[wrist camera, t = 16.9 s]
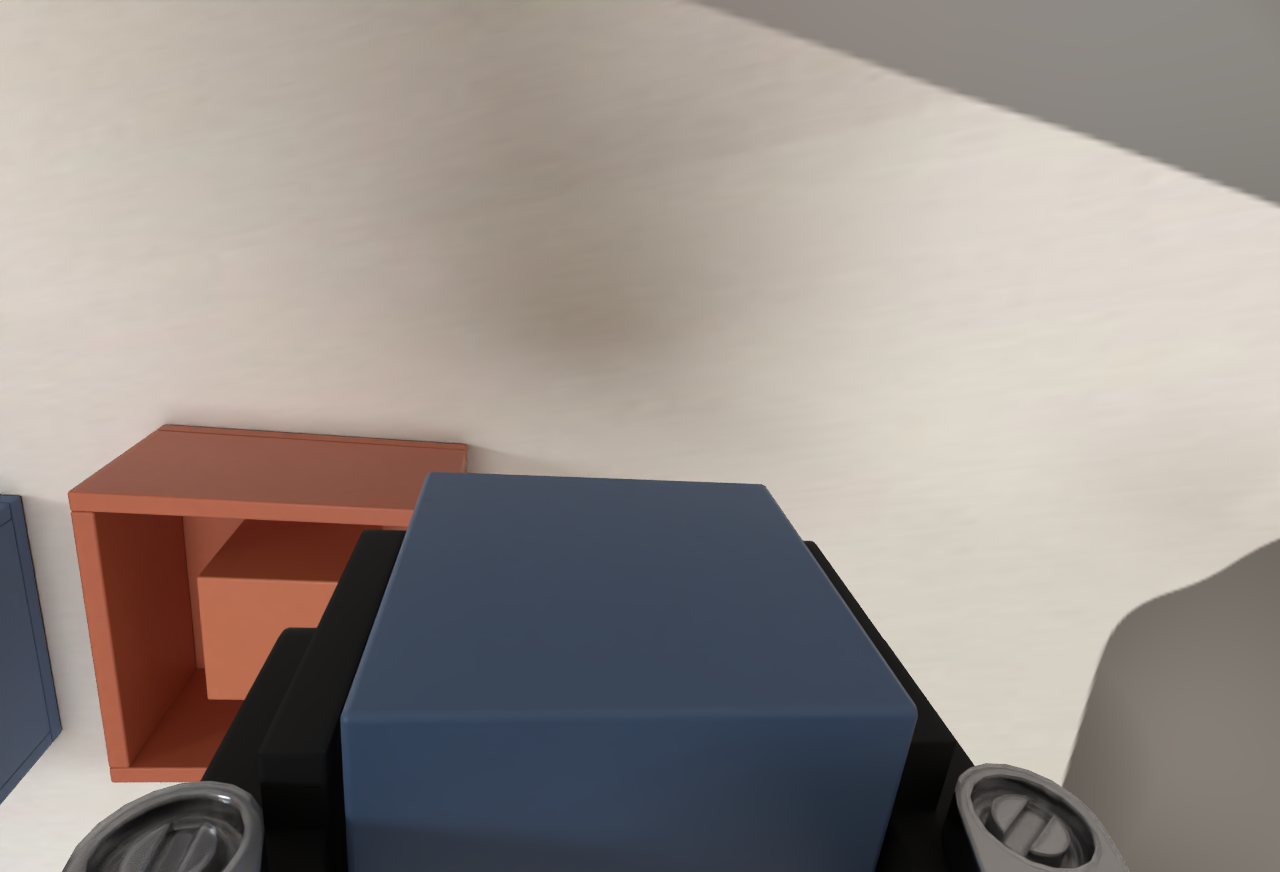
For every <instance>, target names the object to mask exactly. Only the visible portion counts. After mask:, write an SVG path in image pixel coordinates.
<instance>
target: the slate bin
mask: <svg viewBox="0 0 1280 872" xmlns="http://www.w3.org/2000/svg"><path fill="white" fill-rule="evenodd" d="M60 733H61V726H60V721H59V715H58V709H57V703H56V698H55V692H54V686H53V681H52V675H51V669H50V663H49V658H48V652H47V646H46V641H45V635H44V629H43V624H42V618H41V612H40V606H39V601H38V595H37V589H36V584H35V578H34V572H33V566H32V561H31V555H30V549H29V544H28V538H27V532H26V526H25V521H24V515H23V509H22V504H21V498H20V496H6V495H0V805H1V803H2V802H3V801H4V800H5V799H6V797H7V796H8V795H9V794H10V793H11V791H12V790H13V789H14V788H15V787H16V785H17V784H18V783H19V782H20V781H21V780H22V778H23V777H24V776H25V775H26V774H27V772H28V771H29V770H30V769H31V768H32V766H33V765H34V764H35V763H36V762H37V760H38V759H39V758H40V757H41V756H42V754H43V753H44V752H45V751H46V750H47V749H48V747H49V746H50V745H51V743H52V742H53V741H54V740H55V739H56V738H57V737H58V735H59V734H60Z"/></svg>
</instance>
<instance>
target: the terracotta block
mask: <svg viewBox="0 0 1280 872" xmlns="http://www.w3.org/2000/svg"><path fill="white" fill-rule="evenodd" d="M365 529H368V530H382V526H379V525H358V524H337V523H317V522H296V521H275V520H254V519H245V520H244V521H243V522H242V523H241V524H240V526H239V527H238V528H237V529H236V530H235V532H234V533H233V534H232V535H231V537H230V538H229V539H228V540H227V541H226V543H225V544H224V545H223V546H222V547H221V549H220V550H219V551H218V552H217V553H216V555H215V556H214V557H213V558H212V560H211V561H210V562H209V563H208V564H207V566H206V567H205V568H204V569H203V570H202V572H201V573H200V574H199V575H198V577H197V586H198V597H199V608H200V619H201V630H202V641H203V652H204V663H205V674H206V685H207V696H208V699H210V700H245V698H246V696H247V694H248V692H249V690H250V689H251V687H252V685H253V683H254V681H255V679H256V677H257V676H258V674H259V672H260V670H261V668H262V666H263V665H264V663H265V661H266V659H267V657H268V655H269V654H270V652H271V650H272V648H273V646H274V644H275V643H276V641H277V639H278V637H279V636H280V634H281V633H282V632H283V630H284V629H287V628H289V627H304V628H317V626H318V624H319V622H320V620H321V618H322V615H323V613H324V611H325V609H326V607H327V605H328V603H329V601H330V599H331V596H332V594H333V592H334V590H335V588H336V586H337V584H338V582H339V580H340V577H341V575H342V573H343V571H344V569H345V567H346V565H347V563H348V561H349V558H350V556H351V554H352V552H353V550H354V548H355V546H356V544H357V542H358V539H359V537H360V535H361V533H362V532H363V530H365Z"/></svg>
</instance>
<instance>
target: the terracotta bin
mask: <svg viewBox="0 0 1280 872" xmlns="http://www.w3.org/2000/svg"><path fill="white" fill-rule="evenodd" d="M466 462H467V445H465V444H450V443H434V442H419V441H404V440H389V439H374V438H359V437H343V436H328V435H313V434H298V433H283V432H268V431H252V430H237V429H222V428H207V427H192V426H176V425H163V426H162V427H160V428H159V429H157V431H154V432H153V433H151V434H150V435H149V436H147V437H146V438H144V439H143V440H141V441H140V442H139V443H137V444H136V445H134V446H133V447H131V448H130V449H129V450H127V451H126V452H124V453H123V454H121V455H120V456H119V457H117V458H116V459H114V460H113V461H111V462H110V463H109V464H107V465H106V466H104V467H103V468H102V469H100V470H99V471H97V472H96V473H94V474H93V475H92V476H90V477H89V478H87V479H86V480H84V481H83V482H82V483H80V484H79V485H77V486H76V487H74V488H73V489H72V490H70V491H69V492H68V498H69V504H70V509H71V510H72V512H71V517H72V523H73V530H74V537H75V543H76V550H77V556H78V563H79V570H80V576H81V583H82V589H83V596H84V603H85V609H86V616H87V622H88V629H89V636H90V642H91V649H92V656H93V662H94V669H95V675H96V682H97V689H98V695H99V702H100V708H101V715H102V722H103V728H104V735H105V741H106V748H107V755H108V761H109V767H111V768H110V774H111V781H112V782H200V781H201V779H202V777H203V775H204V773H205V771H206V769H207V768H208V766H209V764H210V762H211V760H212V758H213V757H214V755H215V753H216V751H217V749H218V747H219V746H220V744H221V742H222V740H223V738H224V736H225V735H226V733H227V731H228V729H229V727H230V725H231V723H232V722H233V720H234V718H235V716H236V714H237V712H238V711H239V709H240V707H241V705H242V703H243V701H244V700H210V699H208V696H207V685H206V674H205V663H204V652H203V641H202V630H201V619H200V608H199V597H198V586H197V577H198V575H199V574H200V573H201V572H202V570H203V569H204V568H205V567H206V566H207V564H208V563H209V562H210V561H211V560H212V558H213V557H214V556H215V555H216V553H217V552H218V551H219V550H220V549H221V547H222V546H223V545H224V544H225V543H226V541H227V540H228V539H229V538H230V537H231V535H232V534H233V533H234V532H235V530H236V529H237V528H238V527H239V526H240V524H241V523H242V522H243V521H244V520H245V519H254V520H275V521H296V522H317V523H337V524H358V525H379V526H382V530H407V528H408V526H409V523H410V520H411V517H412V514H413V512H414V509H415V506H416V503H417V500H418V497H419V495H420V492H421V489H422V486H423V483H424V481H425V478H426V476H427V474H428V473H430V472H451V473H466Z"/></svg>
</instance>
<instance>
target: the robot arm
mask: <svg viewBox="0 0 1280 872" xmlns="http://www.w3.org/2000/svg"><path fill="white" fill-rule="evenodd" d="M406 531H407V530H368V529H365V530H363V532H362V533H361V535H360V537H359V539H358V542H357V544H356V546H355V548H354V550H353V552H352V554H351V556H350V558H349V561H348V563H347V565H346V567H345V569H344V571H343V573H342V575H341V577H340V580H339V582H338V584H337V586H336V588H335V590H334V592H333V594H332V596H331V599H330V601H329V603H328V605H327V607H326V609H325V611H324V613H323V615H322V618H321V620H320V622H319V624H318V626H317V628H304V627H289V628H287V629H284V630H283V632H282V633H281V634H280V636H279V637H278V639H277V641H276V643H275V644H274V646H273V648H272V650H271V652H270V654H269V655H268V657H267V659H266V661H265V663H264V665H263V666H262V668H261V670H260V672H259V674H258V676H257V677H256V679H255V681H254V683H253V685H252V687H251V689H250V690H249V692H248V694H247V696H246V698H245V700H244V701H243V703H242V705H241V707H240V709H239V711H238V712H237V714H236V716H235V718H234V720H233V722H232V723H231V725H230V727H229V729H228V731H227V733H226V735H225V736H224V738H223V740H222V742H221V744H220V746H219V747H218V749H217V751H216V753H215V755H214V757H213V758H212V760H211V762H210V764H209V766H208V768H207V769H206V771H205V773H204V775H203V777H202V779H201V781H200V782H189V783H181V784H178V785H174V786H171V787H167V788H163V789H160V790H156V791H153V792H151V793H149V794H147V795H145V796H143V797H140V798H138V799H136V800H134V801H132V802H130V803H128V804H126V805H124V806H123V807H121V808H120V809H118V810H117V811H115V812H114V813H113V814H111V815H110V816H108V817H107V818H105V819H104V820H103V821H101V822H100V823H98V824H97V825H96V826H95V827H94V828H93V829H92V831H91V832H90V833H89V834H88V835H87V836H86V837H85V838H84V839H83V840H82V841H81V842H80V843H79V844H78V845H77V846H76V848H75V850H74V851H73V853H72V855H71V857H70V858H69V860H68V862H67V864H66V865H65V867H64V869H63V871H62V872H348V860H347V841H346V821H345V802H344V782H343V763H342V743H341V724H340V717H341V714H342V711H343V709H344V706H345V703H346V700H347V697H348V694H349V692H350V689H351V686H352V683H353V680H354V678H355V675H356V672H357V669H358V666H359V664H360V661H361V658H362V655H363V652H364V649H365V647H366V644H367V641H368V638H369V635H370V633H371V630H372V627H373V624H374V621H375V618H376V616H377V613H378V610H379V607H380V604H381V602H382V599H383V596H384V593H385V590H386V588H387V585H388V582H389V579H390V576H391V573H392V571H393V568H394V565H395V562H396V559H397V557H398V554H399V551H400V548H401V545H402V542H403V540H404V537H405V534H406ZM803 542H804V543H805V545H806V546H807V548H808V549H809V551H810V552H811V553H812V555H813V556H814V558H815V559H816V561H817V562H818V564H819V565H820V567H821V568H822V569H823V571H824V572H825V574H826V575H827V577H828V578H829V580H830V581H831V583H832V584H833V585H834V587H835V588H836V590H837V591H838V593H839V594H840V596H841V597H842V599H843V600H844V602H845V603H846V604H847V606H848V607H849V609H850V610H851V612H852V613H853V615H854V616H855V618H856V619H857V620H858V622H859V623H860V625H861V626H862V628H863V629H864V631H865V632H866V634H867V635H868V636H869V638H870V639H871V641H872V642H873V644H874V645H875V647H876V648H877V650H878V651H879V652H880V654H881V655H882V657H883V658H884V660H885V661H886V663H887V664H888V666H889V667H890V668H891V670H892V671H893V673H894V674H895V676H896V677H897V679H898V680H899V682H900V683H901V685H902V686H903V687H904V689H905V690H906V692H907V693H908V695H909V696H910V698H911V699H912V701H913V702H914V703H915V705H916V708H917V713H918V718H917V722H916V725H915V729H914V733H913V736H912V740H911V743H910V747H909V751H908V754H907V758H906V762H905V765H904V769H903V772H902V776H901V780H900V783H899V787H898V790H897V794H896V798H895V801H894V805H893V808H892V812H891V816H890V819H889V823H888V826H887V830H886V834H885V837H884V841H883V844H882V848H881V852H880V855H879V859H878V862H877V866H876V870H875V872H1130V871H1129V869H1128V867H1127V865H1126V864H1125V862H1124V860H1123V858H1122V857H1121V855H1120V853H1119V852H1118V850H1117V848H1116V846H1115V845H1114V843H1113V841H1112V839H1111V838H1110V836H1109V834H1108V832H1107V831H1106V829H1105V828H1104V827H1103V825H1102V824H1101V823H1100V821H1099V820H1098V819H1097V818H1096V816H1095V815H1094V813H1093V812H1092V811H1091V810H1090V809H1089V808H1087V807H1086V806H1085V805H1084V804H1083V803H1082V802H1081V801H1080V800H1079V799H1078V798H1077V797H1075V796H1074V795H1073V794H1071V793H1070V792H1069V791H1067V790H1065V789H1064V788H1062V787H1061V786H1059V785H1058V784H1056V783H1055V782H1053V781H1052V780H1049V779H1047V778H1045V777H1043V776H1041V775H1038V774H1036V773H1034V772H1032V771H1029V770H1026V769H1022V768H1018V767H1015V766H1011V765H1007V764H988V763H986V764H982V765H978V766H974V764H973V763H972V761H971V760H970V759H969V757H968V756H967V754H966V753H965V752H964V750H963V749H962V747H961V746H960V745H959V743H958V742H957V740H956V739H955V738H954V736H953V735H952V733H951V732H950V731H949V729H948V728H947V726H946V725H945V724H944V722H943V721H942V719H941V718H940V717H939V715H938V714H937V712H936V711H935V710H934V708H933V707H932V705H931V704H930V703H929V701H928V700H927V698H926V697H925V696H924V694H923V693H922V691H921V690H920V689H919V687H918V686H917V684H916V683H915V682H914V680H913V679H912V677H911V676H910V675H909V673H908V672H907V670H906V669H905V668H904V666H903V665H902V663H901V662H900V661H899V659H898V658H897V656H896V655H895V654H894V652H893V651H892V649H891V648H890V647H889V645H888V644H887V642H886V641H885V640H884V639H883V638H882V636H881V635H880V633H879V632H878V631H877V629H876V628H875V626H874V625H873V624H872V622H871V621H870V619H869V618H868V616H867V615H866V614H865V612H864V611H863V609H862V608H861V607H860V605H859V604H858V602H857V601H856V600H855V598H854V597H853V595H852V594H851V593H850V591H849V590H848V588H847V587H846V586H845V584H844V583H843V581H842V580H841V579H840V577H839V576H838V574H837V573H836V572H835V570H834V569H833V567H832V566H831V565H830V563H829V562H828V560H827V559H826V558H825V556H824V555H823V553H822V552H821V551H820V549H819V548H818V546H817V545H816V544H815V543H814V542H813V541H803Z"/></svg>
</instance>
